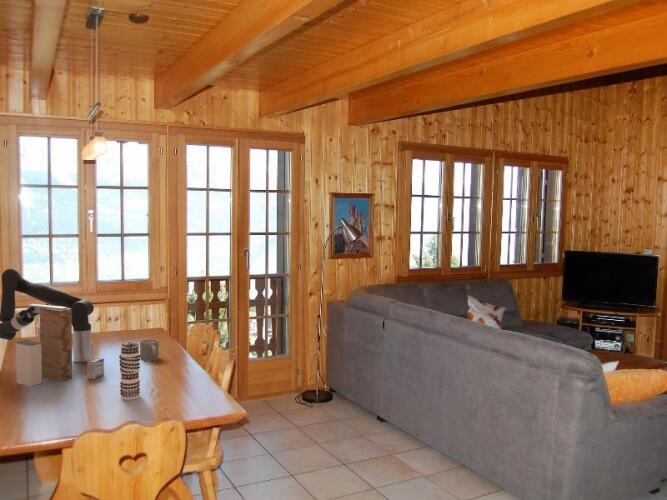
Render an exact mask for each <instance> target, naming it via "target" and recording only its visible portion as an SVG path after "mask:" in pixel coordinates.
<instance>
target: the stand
mask: <svg viewBox="0 0 667 500" xmlns="http://www.w3.org/2000/svg"><path fill="white" fill-rule="evenodd" d="M39 324H40V338H39V342H41V361H42V379H48V380H51V381H56V382H64V381H67V380H71V379H73V326H72V309H71V308H67V309H64V310H55V309H48V308H40V315H39Z"/></svg>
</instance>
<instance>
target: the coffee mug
mask: <svg viewBox="0 0 667 500" xmlns="http://www.w3.org/2000/svg"><path fill="white" fill-rule="evenodd" d="M159 343H160V342H159V340H158V339H154V338H147V339H142V340H140V342H139V355H140V356H141V357H139V358H140V359H141V360H140V361H143V360H153V361H155V360H154V359H157V358H158V357H160V356H159V355H160V354H159V353H160V351H159ZM158 359H159V358H158ZM158 359H157V360H158Z"/></svg>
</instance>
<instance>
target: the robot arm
mask: <svg viewBox="0 0 667 500" xmlns="http://www.w3.org/2000/svg"><path fill="white" fill-rule="evenodd" d="M1 285H2V286H1V287H2V288H1V289H2V290H1V304H0V339H2V340H6V341H12V340H14V338H15V337H16V335H17V333H18V332H20V330H22V329H24V328H26V327H28V326H29V325H31V323H33V322H34V321H35V318H36V317H38V316H40V313H32V312H33V311H34V310H35V309H34V306H31V307H30V308H29V309H28V308H26V309H21V311H19V312H18V313H16V292H17V293H22V294H24V295H26V296H30V297H31V298H33V299H36V300H39V301H41V302H43V303H45V305H50V306H60V307H67V308H71V309H72V362H75V363H87V362H89V361H91V360H93V359H94V354H93V353H94V342H92V324H91V323H90V322H89V316H90V315H91V314H93V312H94V309H95V307H94V305H93V303H92V302H91V301H90V300H89V299H85V298H82V297H77V296H74V295H72V294H69V293H67V292H65V291H62V290H60V289H58V288H56V287H54V286H52V285H48V284H46V283H34V282H33V281H32V282H31V281H29V280H27V279H25V278H23V277H22V275H21V273H20V272H19V271H18V270H17V269H15V268H7V269H5V270H4V271H3V272H2V274H1Z"/></svg>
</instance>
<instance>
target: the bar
mask: <svg viewBox="0 0 667 500" xmlns="http://www.w3.org/2000/svg"><path fill="white" fill-rule="evenodd" d="M31 306H34V309H35V310H34V311H33V312H32V313H40V308H48V309H55V310H64V309H67V307H62V306H56V305H51V304H49V305H46V304H40V303H39V304H38V303H32V304H31V303H30V304H27V309H29V308H30V307H31Z"/></svg>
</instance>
